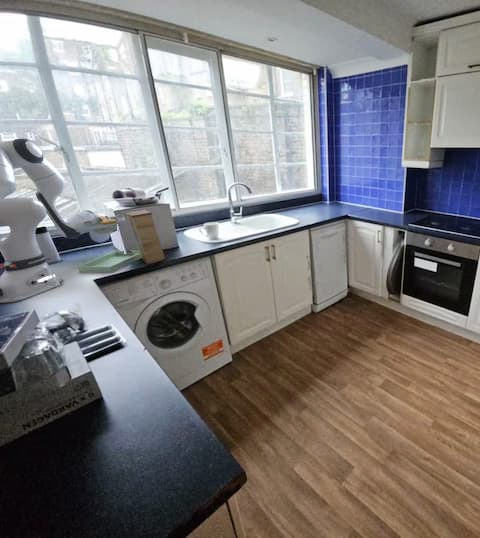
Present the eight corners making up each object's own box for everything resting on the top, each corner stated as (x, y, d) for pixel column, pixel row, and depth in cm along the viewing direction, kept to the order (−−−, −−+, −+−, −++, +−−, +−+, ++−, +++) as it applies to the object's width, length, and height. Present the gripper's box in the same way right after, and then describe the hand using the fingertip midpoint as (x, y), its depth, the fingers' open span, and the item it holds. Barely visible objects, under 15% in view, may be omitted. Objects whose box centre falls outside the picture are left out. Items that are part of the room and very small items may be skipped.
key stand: (166, 259, 160) (151, 212, 150) (148, 264, 154) (131, 215, 144) (158, 255, 167) (144, 210, 156) (141, 260, 160) (125, 213, 150)
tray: (112, 272, 146) (110, 266, 144) (79, 272, 147) (76, 266, 145) (146, 255, 167) (145, 250, 166) (117, 255, 168) (115, 250, 167)
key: (117, 222, 144) (116, 220, 144) (104, 225, 141) (103, 222, 140) (107, 217, 155) (106, 215, 154) (95, 219, 151) (94, 217, 151)
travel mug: (52, 264, 157) (34, 228, 149) (42, 264, 159) (25, 228, 151) (65, 260, 163) (49, 225, 155) (55, 259, 164) (39, 224, 156)
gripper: (72, 226, 152) (72, 216, 142) (120, 218, 166) (122, 208, 157) (78, 237, 152) (78, 228, 143) (125, 228, 167) (128, 219, 157)
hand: (101, 218), depth 150 cm, fingers closed on key, 3 cm apart
